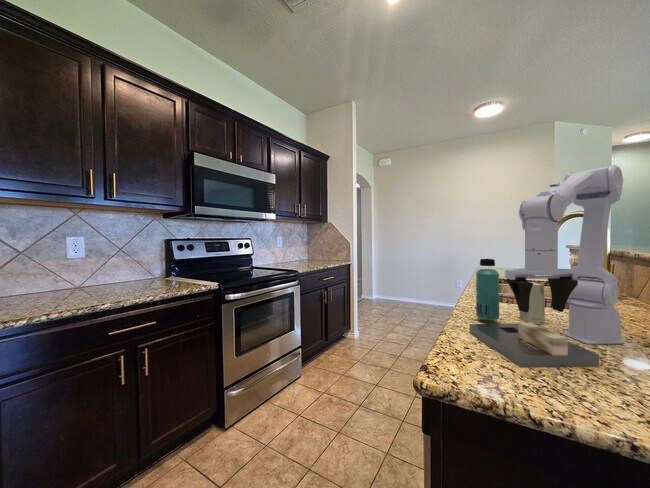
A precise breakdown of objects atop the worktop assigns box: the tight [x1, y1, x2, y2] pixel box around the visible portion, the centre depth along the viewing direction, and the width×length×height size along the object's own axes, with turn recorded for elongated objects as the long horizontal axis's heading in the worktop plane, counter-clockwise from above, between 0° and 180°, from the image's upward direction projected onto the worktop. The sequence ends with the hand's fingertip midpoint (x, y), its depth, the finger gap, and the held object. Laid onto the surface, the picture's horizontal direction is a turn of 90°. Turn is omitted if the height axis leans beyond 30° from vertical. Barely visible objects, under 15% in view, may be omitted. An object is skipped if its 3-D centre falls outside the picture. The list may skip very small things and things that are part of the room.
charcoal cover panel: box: [469, 323, 600, 368], centre depth 65 cm, size 16×20×3 cm
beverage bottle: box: [475, 258, 501, 321], centre depth 84 cm, size 6×7×20 cm
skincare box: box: [518, 281, 546, 326], centre depth 84 cm, size 6×4×12 cm
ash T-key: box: [517, 322, 569, 355], centre depth 60 cm, size 10×3×6 cm, turn 179°
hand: (540, 310), depth 60 cm, fingers open, 7 cm apart
